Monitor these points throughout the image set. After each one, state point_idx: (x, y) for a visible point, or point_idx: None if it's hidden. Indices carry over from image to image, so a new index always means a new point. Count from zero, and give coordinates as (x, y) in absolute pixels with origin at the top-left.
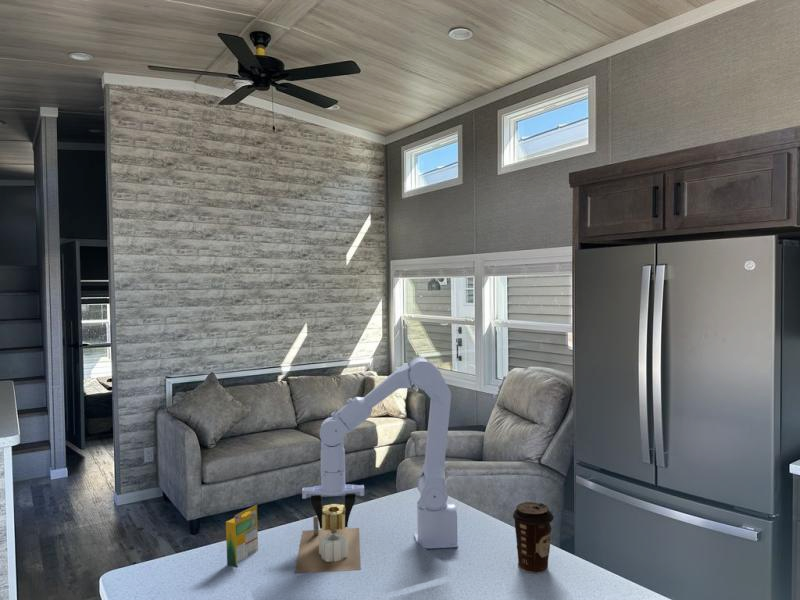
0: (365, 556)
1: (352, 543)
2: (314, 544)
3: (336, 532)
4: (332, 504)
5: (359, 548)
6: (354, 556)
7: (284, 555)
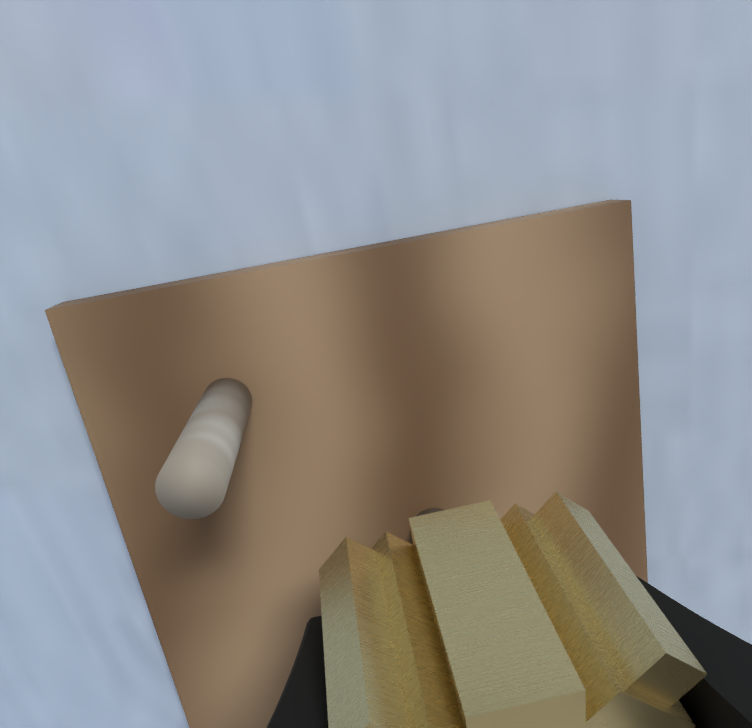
0: None
1: None
2: (272, 583)
3: None
4: (501, 723)
5: None
6: None
7: (73, 679)
